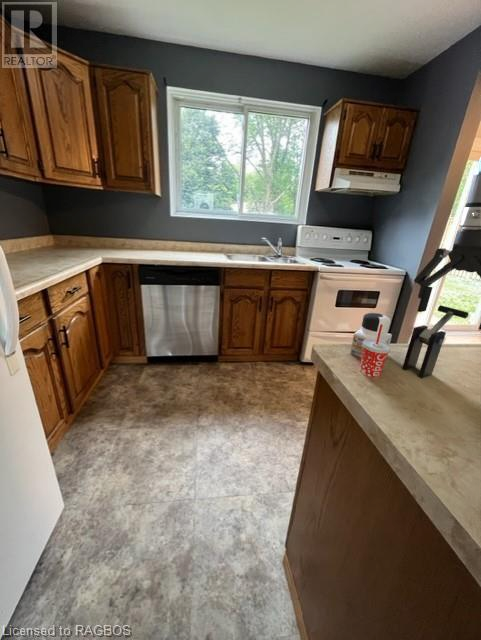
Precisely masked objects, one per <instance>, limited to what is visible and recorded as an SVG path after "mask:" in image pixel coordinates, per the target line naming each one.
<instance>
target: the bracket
mask: <svg viewBox="0 0 481 640" xmlns="http://www.w3.org/2000/svg"><path fill="white" fill-rule="evenodd" d="M426 328H427V329H429V326H428V325H425V324H423V325H419V326H416V327H413V330H412V332H411V337H410V340H409V343H408V347H407V351H406V353H405V357H404V360H403V364H402V368H401V370H403V371H404V372H407V371H410V370H412V369H415V368H416V367H417V364H418V361H419V357H420V354H421V350H422V348H423V345H424V344H423V343H421V342H420V340H419V335H420V334H421V333H422V332H423V331H424V330H425V329H426ZM446 334H447V332H446V331H442V330H439V331H438V332H437V333H433V334H431V337H430V341H429V344H428V345H427V347H426V351H425V353H424V356H423V358H422V359H423V360H422V363H421V366H420V369H419V372H418V375H417V378H418V379H420V380H422V379H425V378H428V377H430V376H432V375H433V372H434V369H435V367H436V363H437V361H438V357H439V354H440V351H441V348H442V346H443V342H444V340H445V337H446Z"/></svg>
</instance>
